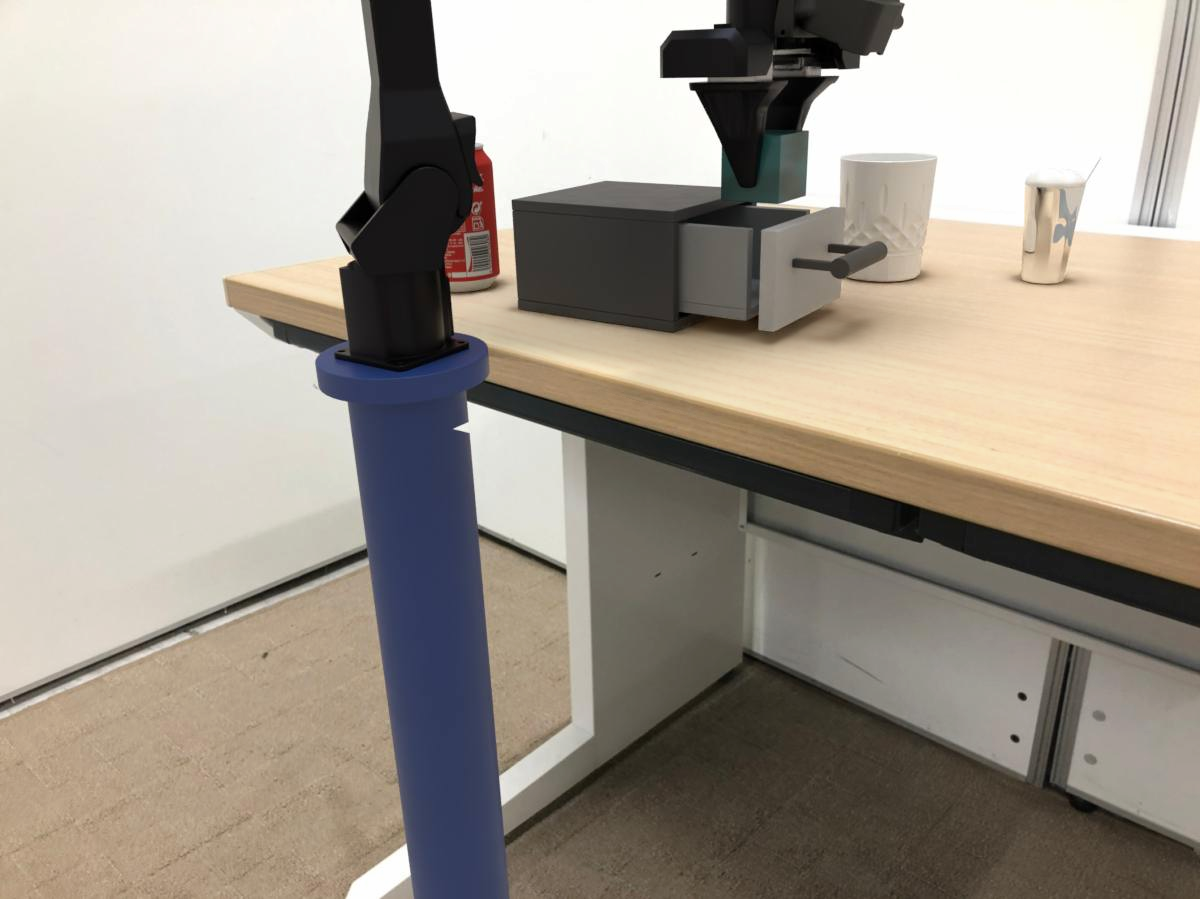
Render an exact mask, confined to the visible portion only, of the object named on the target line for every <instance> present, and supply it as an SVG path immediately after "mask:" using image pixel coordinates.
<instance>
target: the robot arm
mask: <svg viewBox="0 0 1200 899" xmlns="http://www.w3.org/2000/svg"><path fill="white" fill-rule="evenodd" d="M360 5H361V11H362V12H361V13H362V22H363V27H364V37H365V43H366V51H367V60H368V66H369V67H368V68H369V75H370V95H369V102H368V111H367V121H366V128H365V140H364V166H363V167H364V168H363V169H364V170H363V189H364V190H363V191H362V192H361V193H360V194H359V196H358V197H357V198H356V199H355V200H354V201H353V203H351V205H350V206H349V208H348V209H347V210H346V211H345V212H344V214H343V215H342V216H341V217H340V218H339V220H338V221H337V222H336V223H335V226H334V227H335V230H336V232H337V234H338V236H339V238H340V240H341V242H342V244H343V246H344V248H345V250H346V252H347V253H348V254H349V255H350V256H351V257H352V259H354V260H351V261H349V262H348V263H347V264H346V265H345V266H339V267H338V273H339V281H340V288H341V295H342V303H343V304H342V305H343V311H344V318H345V326H346V333H347V341H348V343H349V347H345V348H342V349H339V350H336V351H334V357H335V359H338V360H343V361H347V362H352V363H357V364H361V365H366V366H371V367H375V368H380V369H385V370H389V371H394V372H405V371H409V370H411V369H414V368H417V367H420V366H422V365H425V364H428V363H431V362H434V361H436V360H439V359H442V358H445V357H447V356H450V355H453V354H456V353H459V352H461V351H464V350H467V349H469V342H468V341H465V340H460V339H454V338H451V337H452V336H453V335H454V332H455V327H454V314H453V305H452V292H450V281H449V277H448V276H447V275H446V271H445V260H444V257H445V253H446V249H447V245H448V242H449V238H450V235H452V234H453V233H455V232H456V231H458V229H459V228H460V227H461V226H462V224H463V223H464V222H465V221H466V219H467V218H468V217H469V216H470V213H471V210H472V207H473V186H472V183H473V184H475V185H477V186H479V187H482V186H483V184H484V183H483V180H482V178H481V176H480V174H479V172H478V170H477V165H476V161H475V143H476V140H477V139H476V137H477V119H476V117H475V116H474V115H472V114H466V113H461V112H456V111H451V110H450V108H449V104H448V102H447V99H446V97H445V96H446V95H445V94H444V91H443V88H442V85H441V81H440V75H439V66H438V65H439V64H438V56H437V47H436V35H435V27H434V18H433V7H432V0H360ZM905 6H906V3H905V2H901V0H725V23H714V24H713V28H701V29H677V30H676V29H675V30H674V29H673V30H671V32H670V33H668V36H667V37H666V38H665V40H664V41H663V42H662V43H661V45H660V46H659V78H660V79H699V78H700V79H703V78H704V79H706V78H707V80H706V81H703V80H702V81H690V82H689V83H688V87H689V91H691V92H695V94H696V96H697V98H698V100H699V102H700V104H701V105H702V107H703V109H704V111H705V113H706V115H707V117H708V119H709V121H710V123H711V126H712V127H713V129H714V131H715V134H716V136H717V138H718V140H719V143H720V144H721V148H722V147H723V149H724V152H725V154H726V156H727V159H728V161H729V163H730V165H731V168H732V170H733V172H734V175H735V177H736V179H737V182H738V184H739V186H740V187H742V188H754V187H755V186H756V183H757V178H758V172H759V167H760V161H761V153H762V146H763V138H764V131H765V130H803V128H804V125H805V123H806V120H807V117H808V115H809V112H810V109H811V107H812V105H813V103H814V101H815V100H816V99H817V98H818V97H819V96H820V95H821V94H822V93H823V92H825V90H827V89H828V88H829V87H830V86H831V85H833V84H835V83H837V82H838V80H839V78H840V75H822V70H841V71H843V70H858V69H859V70H860V68H861V67H860V66H861V56H862V57H868V56H869V55H870V53H876V55H878V56H883V55H884V53H885V51H886V48H887V46H888V44H889V41H890V38H891V37H892V33H893V31H897V30H899V29H901V28H902V27H903V25H904V24H905V23H904V22H905V19H904V17H903V10H904V8H905Z"/></svg>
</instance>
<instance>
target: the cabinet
mask: <svg viewBox="0 0 1200 899" xmlns="http://www.w3.org/2000/svg"><path fill="white" fill-rule="evenodd" d="M734 205H749V206H758V203H753V202H737V201H722V200H721V186H711V185H710V186H709V185H695V184H694V185H693V184H675V183H674V184H673V183H654V182H638V181H636V182H635V181H617V180H602V181H598V182H597V181H596V182H592V183H588V184H582V185H577V186H573V187H572V186H571V187H567V188H563V189H557V190H553V191H548V192H543V193H542V192H541V193H538V194H533V195H528V196H524V197H517V198H512V199H511V213H512V214H511V215H512V230H513V231H512V232H513V243H514V244H513V245H514V259H515V260H514V262H515V276H516V277H515V278H516V294H517V307H518V310H522V311H530V312H534V313H535V312H536V313H543V314H549V315H556V316H561V317H569V318H575V319H581V320H589V321H596V322H603V323H609V324H616V325H622V326H629V327H636V328H642V329H649V330H656V331H662V332H669V333H675V332H678V331H679V330H682V329H684V328H686V327H689V326H691V325H693V324H696V323H697V322H700V321H702V320H704V319H707V318H709V317H710V316H706V315H699V314H692V313H685V312H679V222H678V221H681V220H685V219H688V218H692V217H695V216H699V215H702V214H706V213H710V212H713V211H717V210H720V209H724V208H727V207H731V206H734Z"/></svg>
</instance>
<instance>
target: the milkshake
mask: <svg viewBox="0 0 1200 899" xmlns="http://www.w3.org/2000/svg"><path fill="white" fill-rule="evenodd" d="M1101 159H1102V157H1100V158H1099V159H1098V161H1097V163H1096V164H1095V165H1094V167H1093V168H1092V170H1091V172H1090V174H1089V175H1088V177H1087V178H1085V176H1084V175H1083V174H1082V173H1080V172H1078V171H1075V170H1071V169H1068V168H1064V167H1060V168H1050V167H1041V168H1037V169H1036V170H1034V171H1033V172H1031V173H1030V174H1029V175H1028V176H1027V178H1026V179H1025V181H1024V205H1023V206H1024V207H1023V232H1022V234H1023V236H1022V254H1021V271H1020V272H1021V273H1020V278H1021V280H1022V281H1024V282H1027V283H1032V284H1040V285H1041V284H1042V285H1049V284H1059V283H1062V282H1063V281H1064V279H1065V276H1066V275H1065V274H1066V271H1067V265H1068V262H1069V258H1070V252H1071V247H1072V244H1073V240H1074V234H1075V230H1076V226H1077V221H1078V217H1079V215H1080V214H1079V213H1080V209H1081V205H1082V202H1083V198H1084V194H1085V190H1086V185H1087V182H1088V181H1089V179H1090V177H1091V176H1092V174H1093V172H1094V171H1095V169H1096V167H1097V166H1098V164H1099V163H1100V161H1101Z"/></svg>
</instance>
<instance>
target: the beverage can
mask: <svg viewBox="0 0 1200 899" xmlns="http://www.w3.org/2000/svg"><path fill="white" fill-rule="evenodd" d="M475 161H476V165H477V170H478V172H479V174H480V176H481V178H482V180H483V183H484V184H483V186H482V187H479V186H477V185H475V184H473V183H472V186H473V207H472V210H471V213H470V216H469V217H468V218H467V219H466V221H465V222H464V223H463V224H462V226H461V227H460V228H459V229H458V231H456V232H455V233H453V234H452V235H450V238H449V242H448V245H447V249H446V253H445V257H444V260H445V271H446V275H447V276H448V277H449V281H450V292H451V293H467V292H475V291H481V290H486V289H488V288H490V287H491V286H492V285H493V283H494V282H495V280H496V279H497V278H498V276H499V275H500V273H501V268H500V255H499V254H500V253H499V252H500V251H499V238H498V225H497V209H496V196H495V183H494V168H493V167H494V166H493V161H492V159H491V158H490V157H489V156H488V154H487V153H486V152H485V150H484V144H483V143H481V142H475Z"/></svg>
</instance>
